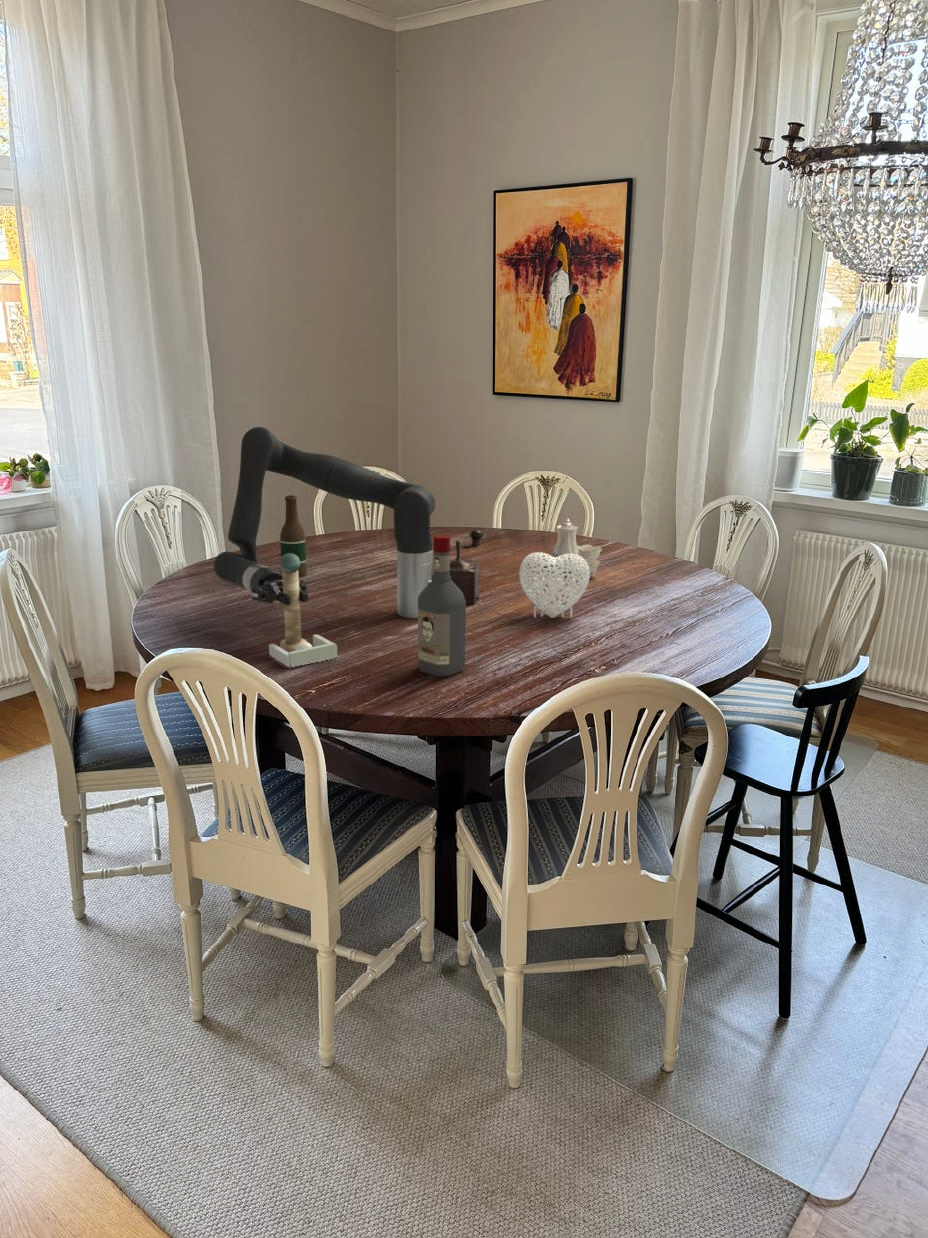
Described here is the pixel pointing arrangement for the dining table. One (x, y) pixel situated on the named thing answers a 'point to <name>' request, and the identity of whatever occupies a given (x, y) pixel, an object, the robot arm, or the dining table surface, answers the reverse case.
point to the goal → (305, 653)
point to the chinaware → (575, 547)
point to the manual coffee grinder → (466, 570)
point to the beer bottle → (293, 535)
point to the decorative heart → (554, 581)
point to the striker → (291, 602)
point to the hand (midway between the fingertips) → (297, 599)
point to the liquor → (441, 618)
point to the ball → (303, 646)
